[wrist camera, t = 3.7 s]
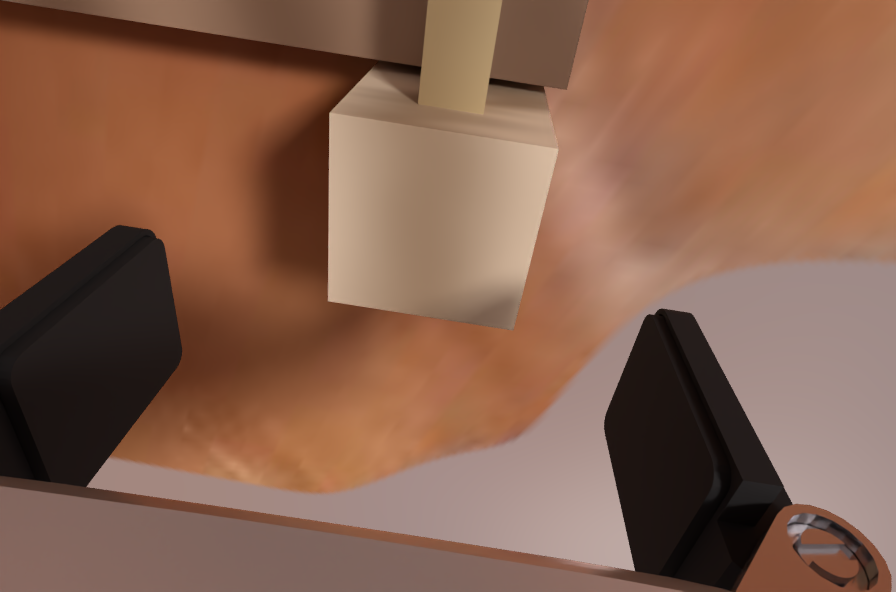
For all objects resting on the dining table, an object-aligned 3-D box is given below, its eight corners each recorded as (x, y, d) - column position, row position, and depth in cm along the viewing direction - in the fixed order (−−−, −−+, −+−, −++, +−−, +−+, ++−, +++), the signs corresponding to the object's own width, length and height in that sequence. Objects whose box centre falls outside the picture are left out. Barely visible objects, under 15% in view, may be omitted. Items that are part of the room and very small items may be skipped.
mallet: (619, -267, 12) (696, -399, 7) (511, 228, 20) (513, 330, 15) (402, -302, 12) (334, -456, 7) (373, 206, 20) (327, 301, 15)
